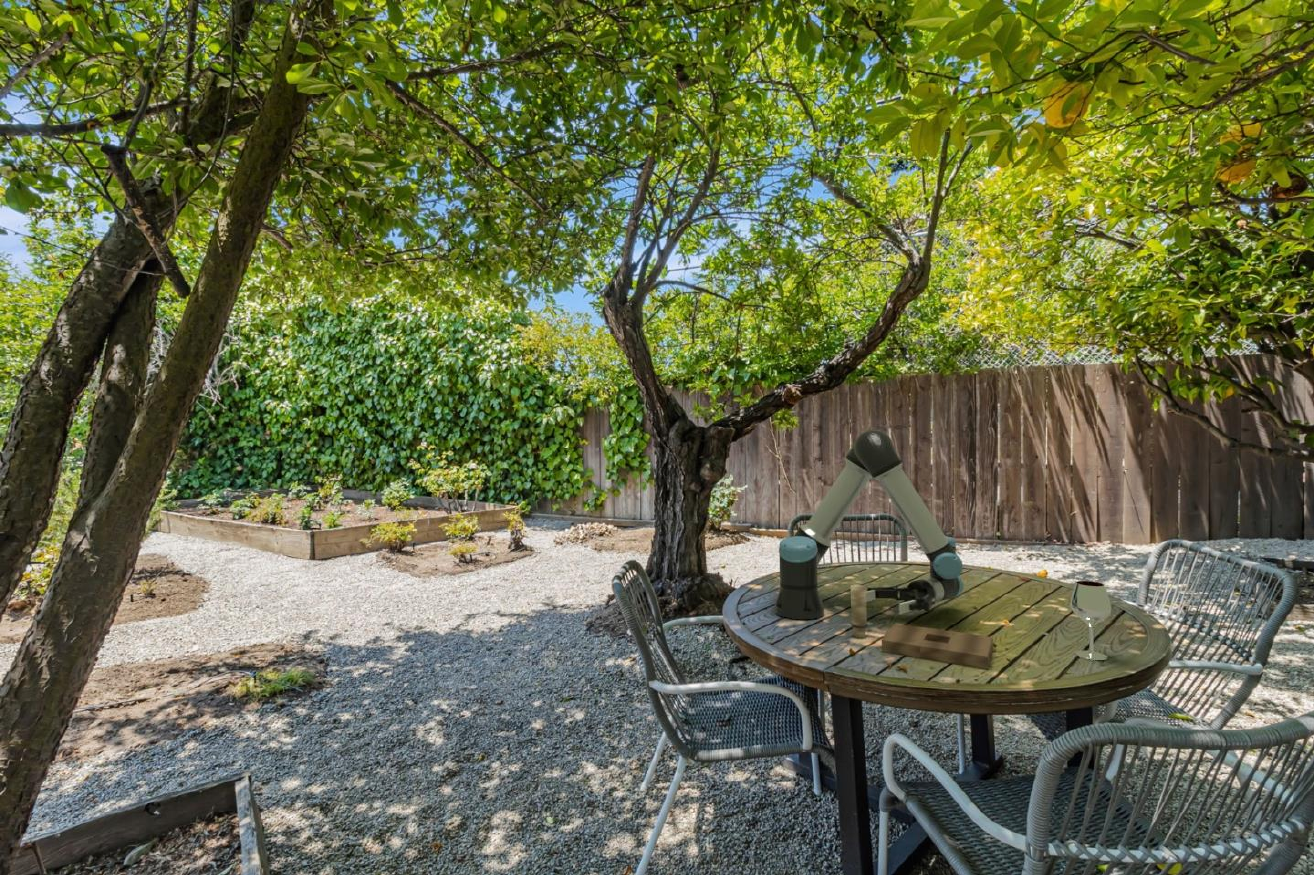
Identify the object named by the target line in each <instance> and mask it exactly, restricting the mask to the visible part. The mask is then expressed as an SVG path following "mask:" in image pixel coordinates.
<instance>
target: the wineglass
mask: <svg viewBox="0 0 1314 875" xmlns="http://www.w3.org/2000/svg"><path fill="white" fill-rule="evenodd" d="M1070 608H1071V609H1072V610H1071V611H1072V612H1073V613H1074V614H1075V615H1076V616H1077V617H1078V618H1079V619H1081V620H1082V621H1083V622H1084V623H1085V624H1086V625H1087V627H1088V629H1089V630H1088V631H1089V632H1088V638H1089V650H1078V651H1076V652H1075V654H1076V656H1078V657H1079V658H1082V659H1085V660H1089V659H1090V660H1089V661H1095V660H1104V658H1103V657H1108V656H1107V655H1105V654H1104V653H1100V652H1096V651H1095V647H1094V628H1095V626H1097V625H1098V624H1099V623H1101V622H1103V621H1105V620H1106V619H1107V618H1108V617H1109V616H1110V615H1111V612H1112V604H1111V601H1110V596H1109V594H1108V592H1107V589H1106V585H1105V584H1104V583H1101V582H1099V581H1098V582H1097V581H1092V580H1091V581H1090V580H1080V581H1079V580H1078V581H1075V584H1074V587H1073V590H1072V594H1071V597H1070Z"/></svg>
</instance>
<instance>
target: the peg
mask: <svg viewBox="0 0 1314 875" xmlns="http://www.w3.org/2000/svg"><path fill="white" fill-rule="evenodd" d="M866 592H867V586H866V585H863V584H858V583H857V584H856V583H855V584H851V585H850V612H851V613H850V615H851V622H850V625H851V627H852V632H853V633H852V634H853V637H854V638H855V637H856V639H866V628H868V622H867V620H868V619H867V614H868V613H867V602H866Z"/></svg>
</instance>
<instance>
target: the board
mask: <svg viewBox="0 0 1314 875" xmlns="http://www.w3.org/2000/svg"><path fill="white" fill-rule="evenodd" d="M993 638H994V637H993V636H986V635H979V634H974V633H968V632H967V633H966V632H958V631H952V630H945V629H937V628H930V627H923V626H918V625H912V624H911V625H910V624H902V623H897V622H895V623H894V624H893V625H892V626H891V627H890V629H889V630H888V631H887V632H886V634H885V635H884V636H883V638H882V639H881V652H884V653H889V654H895V655H901V656H906V657H911V658H918V659H924V660H930V661H931V660H932V661H934V662H935V661H936V662H941V663H948V664H952V665H959V666H960V665H961V666H965V667H971V668H978V669H982V670H989V667H990V662H991V659H992V654H993V650H994V641H993V640H994V639H993Z"/></svg>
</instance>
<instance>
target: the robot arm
mask: <svg viewBox="0 0 1314 875" xmlns="http://www.w3.org/2000/svg"><path fill="white" fill-rule="evenodd" d="M844 459H845V464H846V465H845V467H844V468H843V469H842V471H841V472H840V474H839V475H838V477H837V478H836V480H834V483H833V484H832V486H831V487H830V489H829V490H828V492H827V493H826V495H825V496H824V498H823V499H822V501H821V503H820V504H819V505H818V506H817V508H816V509H815V511H814V513H813V515H812V516H811V517H810V519H809V521H808V522H807V523H805V524H801V525H800V526H799V528H798V529H797V530H796V532H795V533H794V535H793V536H789V537H785V538H783V539H781V541H780V542H779V545H778V554H779V555H778V556H779V584H780V585H779V592H778V594H777V598H776V602H775V604H774V612H776V613H775V615H777V614H778V615H777V616H778V617H781V616H783V617H782V618H784V617H787V618H786V619H789V618H792V619H791V620H796V619H801V620H800V621H806V619H811V620H815V619H814V618H817V619H819V618H818V617H820V618H822V617H824V615H825V607H824V604H823V603H824V602H823V601H822V598H821V595H820V592H819V590H818V589H819V588H818V587H819V586H818V566H819V564H820V563H821V560H822V559H823V558H824V557H825V554H826V553H827V552H828V550H829V548H830V547H831V540H830V539H831V537H832V535H833V534H834V533H835V531H836V529H837V528H838V527H839V525H840V524H841V522H842V521H843V519H844V518H845V517H846V515H847V513H848V512H849V511H850V509H851V508H852V506H853V504H854V503H855V501H856V500H857V498H858V497H859V495H860V493H862V491H863V489H864V488H865V487H866V485H867V483H868V482H869V481H870V480H871V479H873V480H875V481H876V480H877V481H878V482H879V483H880V485H881V487H882V488H883V490H884V491H885V493H886V494H887V496H888V498H889V499H890V501H891V502H892V504H893V506H894V507H895V509H896V510H897V512H898V513H899V515H900V516H901V518H902V520H903V521H904V522H905V524H906V526H907V527H908V530H909V531H910V532H911V534H912V535H913V537H914V539H915V540H916V542H917V543H918V544H919V546H920V548H921V549H922V551H923V552H924V554H925V556H926V558H927V559H928V562H929V577H924V578H922V579H916V580H912V581H911V582H910V583H908V584H907V586H906V587H898V586H897V585H893V586H883V587H882V586H878V587H877V586H876V587H866V603H867V602H871V601H873V602H874V601H876V599H890V600H891V599H894V600H895V601H904V602H901V603H900V602H899V603H898V613H899V615H900V614H901V615H902V614H907V613H910V612H914V611H923V610H924V612H929V611H930V610H931V608H932V606H933V605H935V604H936V603H939V602H943V601H946V600H952V599H955V598H956V597H958V596H960V595H961V594H962V593H963V590H964V583H963V580H962V579H961V577H960V575H961V574H962V573H963V567H964V566H963V560H961V558H960V556H959V555H958V554H957V550H956V548H957V545H956V540H955V538H953V537H950V536H946V535H945V534H944V532H943V531H942V529H941V528H940V526H939V525H938V523H937V521H936V520H935V518H934V517H933V515H932V514H931V512H930V510H929V508H928V507H927V505H926V504H925V502H924V501H923V499H922V498H921V496H920V495H919V493H918V491H917V489H916V488H915V487H914V485H913V484H912V482H911V480H910V479H909V478H908V476H907V475H906V473H905V471H904V470H903V468H902V467H903V461H902V460H901V459H900V457H899V454H898V453H897V451H896V448H895V446H894V442H893V440H892V439H891V437H890V436H889V435H888V434H887V433H885V432H883V431H882V430H879V429H869V430H866V431H864V432H862V433H861V434H860V435H858V436H857V438H856V439H855V442H854V444H853V446H851V448H850V450H849V451H848V453H847V455H846V456H845V458H844ZM821 616H822V617H821ZM802 619H803V620H802ZM804 619H805V620H804Z"/></svg>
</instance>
